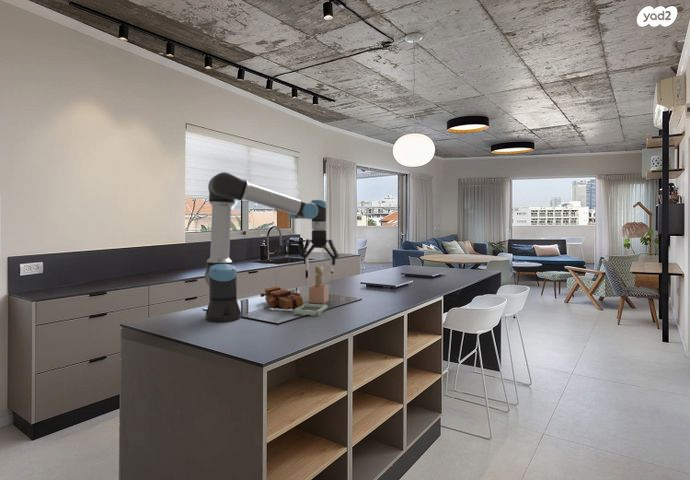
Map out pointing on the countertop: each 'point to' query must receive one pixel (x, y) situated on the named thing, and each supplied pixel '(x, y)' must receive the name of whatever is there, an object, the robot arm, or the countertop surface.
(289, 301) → the brown chunky pile
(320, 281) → the cream tall column
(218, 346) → the countertop surface
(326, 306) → the tray
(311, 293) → the pink cube
